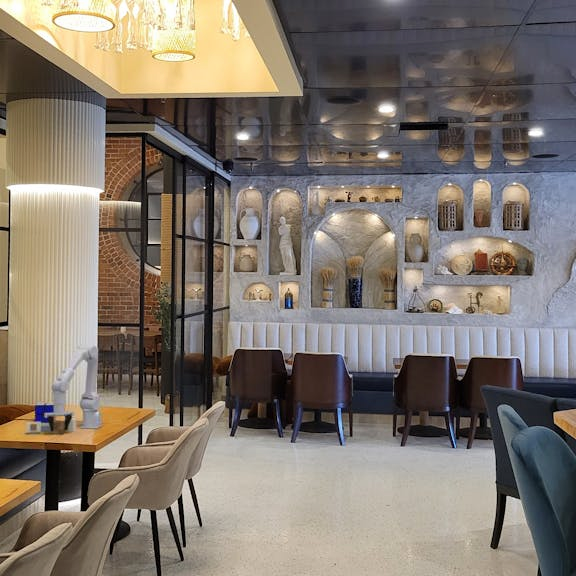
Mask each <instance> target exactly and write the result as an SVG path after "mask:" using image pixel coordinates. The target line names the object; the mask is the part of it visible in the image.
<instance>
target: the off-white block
mask: <svg viewBox="0 0 576 576" xmlns="http://www.w3.org/2000/svg"><path fill="white" fill-rule="evenodd" d="M63 421H65V418H64V419H63ZM76 430H77V418H76V417H72V419H71V421H70V423H69V426H68V430H65V432H75V431H76Z"/></svg>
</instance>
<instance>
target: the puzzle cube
mask: <svg viewBox="0 0 576 576" xmlns="http://www.w3.org/2000/svg"><path fill="white" fill-rule="evenodd" d="M52 412H54V401H52V402H51V401H50V402H48V401H47V402H37V403H36V404H35V405H34V422H41V423H48V420H47V418H45V417H44V413H52ZM53 419H54V420H53V422H56V419H57V417H53Z"/></svg>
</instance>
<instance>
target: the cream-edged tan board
mask: <svg viewBox="0 0 576 576" xmlns="http://www.w3.org/2000/svg"><path fill="white" fill-rule="evenodd" d="M41 434H42V432H41V422H35V421H27V422H26V423H25V435H41Z"/></svg>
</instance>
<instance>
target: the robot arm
mask: <svg viewBox="0 0 576 576" xmlns="http://www.w3.org/2000/svg"><path fill="white" fill-rule="evenodd" d="M74 352H75V354H74V356H73V357H72V360H71V362H70V363H69V365H68V367H65V368H63V369H62V372H61V373H60V375H59V376H58V377H57V379H56V380H54V381H53V382H52V384H51V386H50V387H51V390H52V394H53V402H54V412H52V413H44V417H45V418H47V420H48V423H49V425H50V430H51V432H50V433H53V420H54V419H53V417H56V418H57V417H64V419H65V421H66V428H65V430H68V426H69V423H70V421H71V419H72V418H73V416H75V411H74V410H73V411H66V393H67V390H68V389H69V385H70V381H71V380H72V379H73V377H74V375H75V370H76V369H77V367H78V366H79V365H80V364H81V362H82V361H85V362H86V363H87V366H86V377H85V389H84V390H85V391H84V393H83V394H81V398H80V401H79V407H80V408H81V411H82V425H81V426H80V427H79V428H80V429H99V428H101V427H103V425H102V424H103V423H102V420H103V419H102V412H101V410H99V409H100V407H101V401H100V399H101V398H100V395H99V394H98V393H97V380H98V369H99V349H98V348H97V346H95V345H87V344H86V345H85V344H80V345H78V346H77V348H76V349H75V351H74Z"/></svg>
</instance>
